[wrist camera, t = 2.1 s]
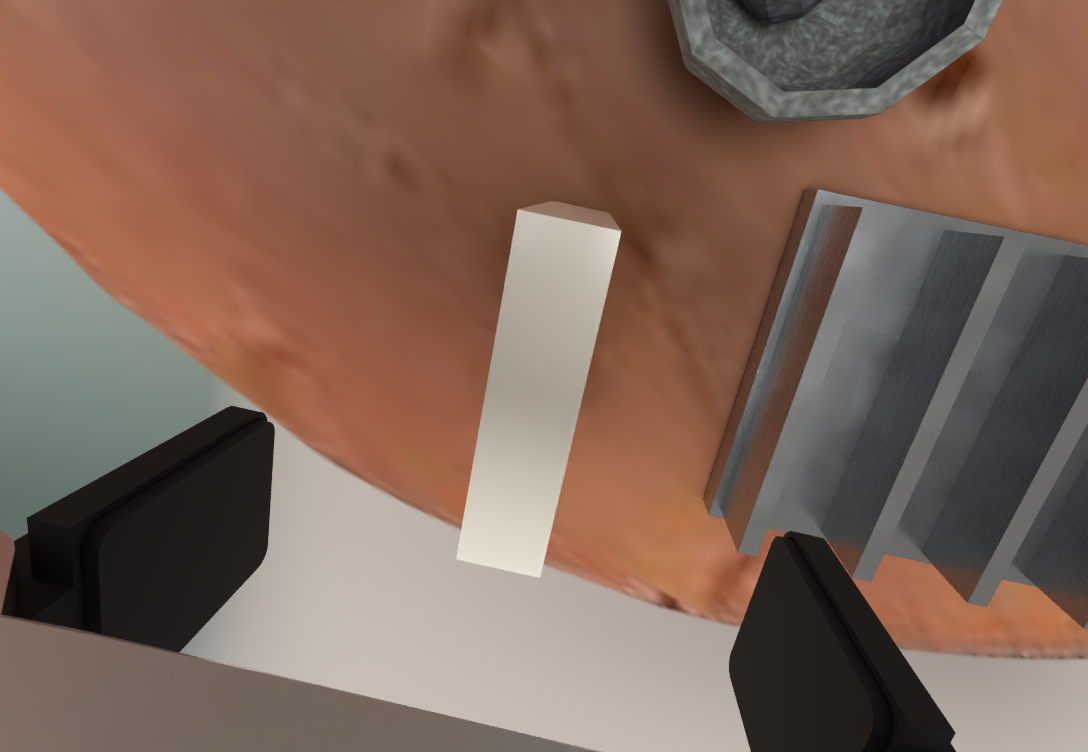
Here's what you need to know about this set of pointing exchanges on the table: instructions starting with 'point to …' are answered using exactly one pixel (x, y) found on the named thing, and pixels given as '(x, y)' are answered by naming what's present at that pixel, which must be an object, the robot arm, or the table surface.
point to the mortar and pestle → (823, 51)
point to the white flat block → (536, 382)
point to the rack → (918, 401)
